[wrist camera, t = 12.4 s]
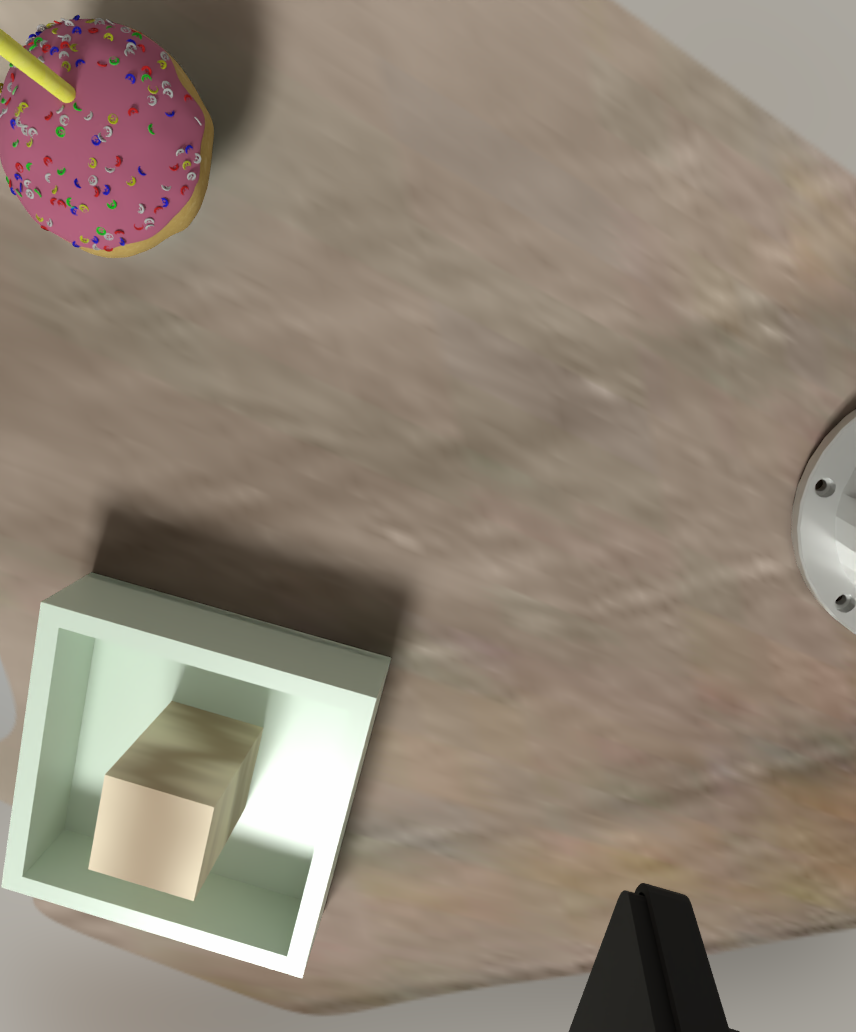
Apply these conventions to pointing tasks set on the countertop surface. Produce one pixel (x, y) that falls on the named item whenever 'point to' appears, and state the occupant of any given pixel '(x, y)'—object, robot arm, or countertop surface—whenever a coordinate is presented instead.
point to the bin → (211, 687)
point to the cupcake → (103, 136)
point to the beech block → (175, 800)
